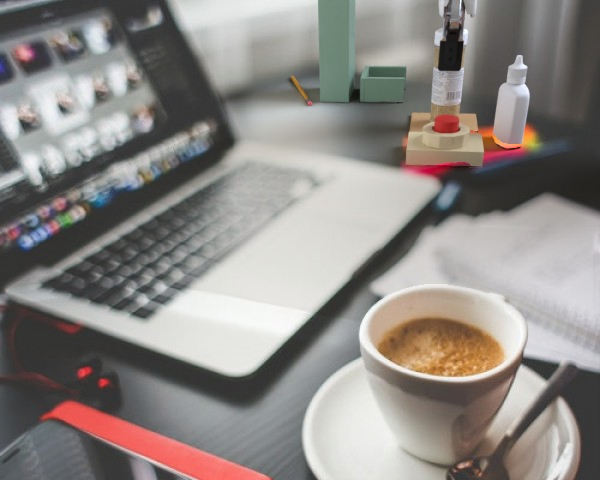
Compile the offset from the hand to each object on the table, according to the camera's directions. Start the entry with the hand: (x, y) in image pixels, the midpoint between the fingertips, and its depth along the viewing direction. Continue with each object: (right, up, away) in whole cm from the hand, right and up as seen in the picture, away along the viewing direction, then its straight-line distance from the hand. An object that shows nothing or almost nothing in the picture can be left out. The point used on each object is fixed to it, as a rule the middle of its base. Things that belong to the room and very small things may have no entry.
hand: (449, 64), depth 91 cm
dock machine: (-10, +2, +21) cm, 23 cm away
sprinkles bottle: (0, -7, +5) cm, 9 cm away
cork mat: (0, -8, +5) cm, 9 cm away
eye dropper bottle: (+8, -12, -1) cm, 14 cm away
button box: (-2, -14, -4) cm, 15 cm away
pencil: (-22, +4, +25) cm, 33 cm away
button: (-2, -11, -6) cm, 13 cm away
